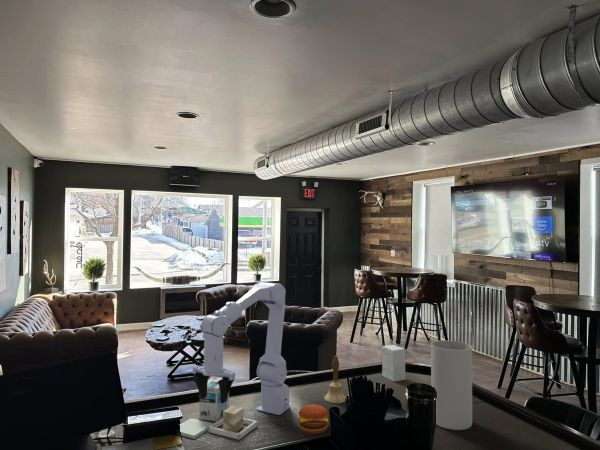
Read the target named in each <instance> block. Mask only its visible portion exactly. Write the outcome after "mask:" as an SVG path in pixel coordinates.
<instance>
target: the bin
mask: <svg viewBox="0 0 600 450" xmlns="http://www.w3.org/2000/svg"><path fill="white" fill-rule="evenodd" d="M243 425H246V426H247V425H248V426H247V427H245V428H244V429H242V430H241V431H240V432H236V433H235V432H231V431H227V430H223V428H219V427H220V426H223V417H221V418H220V419H219V420H218V421H215V422H214V423H213V425H211V426H209V430H208V431H207V432H208V433H211V434H216V435H219V436H223V437H228V438H230V439H231V438H232V439H235V440H241V439H242V438H244V436H246V435H247V434H249V433H250V432H252V431H253V430H254V429H255V428H257V427H258V421H257V420H254V419H248V418H245V417H243Z"/></svg>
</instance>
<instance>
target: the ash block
mask: <svg viewBox="0 0 600 450" xmlns="http://www.w3.org/2000/svg"><path fill="white" fill-rule="evenodd" d="M222 418H223V424H222V429H223V430H227V431H231V432H235V433H238V432H239V431H240V430H241V429H243V427H244V424H243V418H244V407H240V406H236V405H231V406H229V408H228V409H227V410H225V411H223V416H222Z"/></svg>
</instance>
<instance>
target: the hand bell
mask: <svg viewBox="0 0 600 450" xmlns="http://www.w3.org/2000/svg"><path fill="white" fill-rule="evenodd" d="M331 367H332V368H331V369H332V371H333V378H332V379H333V380H332V382H330V384H329V386H328V392H327V394H325V395H324V400H325V401H326V402H328V403H330V404H343V403H346V401H345V398H346V399H347V397H346V396H345V395H344V392H343V387H342V384H341V383H340V382H339V374H338V373H339V369H340V361H339V356H338V355H334V356H333V359H332V362H331Z"/></svg>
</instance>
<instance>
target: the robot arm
mask: <svg viewBox="0 0 600 450" xmlns="http://www.w3.org/2000/svg"><path fill="white" fill-rule="evenodd" d="M286 290H287V289H286V288H285V287H284V285H283V284H281V283H280V282H278V283H275V282H274V283H273V282H265V281H258V282H256V283H255V284H254V285H252V287H251V289H250V290H249V291H248V292H246V293H245V294H244V295H243V296H242V297H240V298H239V299H237V301H227V302H226V303H225V305H224V306H222V307H221V308H220V309H219V310H215V312H214V313H213V314H208V315H206V316H205V317H203V319H202V321H201V324H200V325H199V329H200V331H201V332H202V335H203V337H202V338H203V340H204V342H203V348H204V349H203V350H204V351H203V355H204V357H203V365H195V366H192V374H194V376H192V379H193V380H192V381H194V383H195V385H196V388H197V390H198V394H199V399H200V398H201V399H203V398H205V397H206V396H207V383H208V380H209V377H210V376H211V377H217V378H222V379H221V380H219V381H218V384H219V388H220V400H221V403H224V402H226V401H227V397H228V393H229V394H230V390H231V387H232V385H233V383H234V381H235V379H236V371H234V370H233V371H232V370H229V369H227V368H226V367H224V335H225V334H226V332H227V330H228V328H229V326H230V325H232V324H233V323H234V322H236V320H238V319H239V318H241V317H242V314H243V311H244V310H246V309H248V308H249V307H250V306H252V305H253V304H255V303H257V302H258V301H260V302H262V303H264V304H265V305H266V307H267V308H268V309H269V312H268V322H267V329H266V330H267V331H266V332H267V333H266V341H265V342H266V343H265V353H264V354H263V355H262V356H261V357H260V358H259V361H258V365H257V368H256V376H257V378H258V379H259V382H260V383H261V385H260V389H261V392H260V395H261V396H260V397H261V398H260V401H261V402H260V405H259V406H257V408H256V409H255V410H256V411H259V412H265V413H268V414H273V415H278V416H280V415H282V414H283V413H285V411H287V410H289V408H290V407H291V405H290V387H289V385H287V384H285V381H286V378H287V376H288V375H287V374H288V371H287V361H286V360H285V359H284V357H283V356H282V355H281V353H282V341H283V331H284V322H285V321H284V320H285V311H286V310H285V309H286V292H287V291H286Z"/></svg>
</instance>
